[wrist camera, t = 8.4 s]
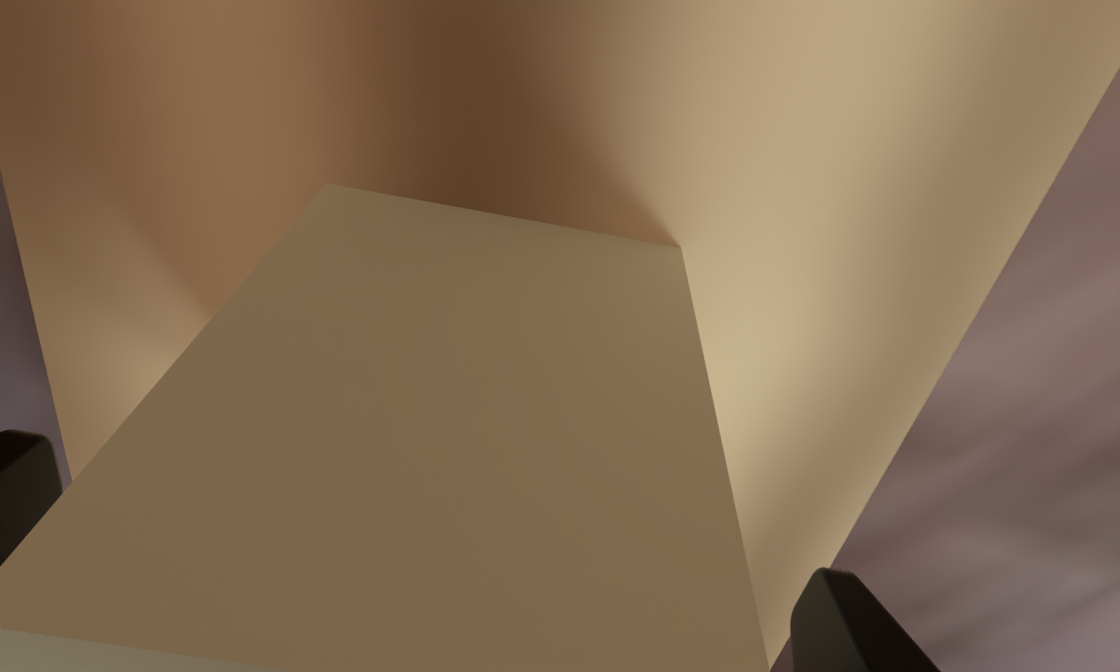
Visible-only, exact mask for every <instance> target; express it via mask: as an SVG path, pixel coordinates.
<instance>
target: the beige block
mask: <svg viewBox="0 0 1120 672" xmlns="http://www.w3.org/2000/svg"><path fill="white" fill-rule="evenodd" d="M0 672H770V670H769V665H768V660H767V655H766V651H765V646H764V641H763V636H762V631H761V627H760V622H759V617H758V612H757V608H756V603H755V598H754V593H753V588H752V584H751V579H750V574H749V569H748V565H747V560H746V555H745V550H744V545H743V541H742V536H741V531H740V526H739V522H738V517H737V512H736V507H735V503H734V498H733V493H732V488H731V483H730V479H729V474H728V469H727V464H726V460H725V455H724V450H723V445H722V440H721V436H720V431H719V426H718V421H717V417H716V412H715V407H714V402H713V397H712V393H711V388H710V383H709V378H708V374H707V369H706V364H705V359H704V354H703V350H702V345H701V340H700V335H699V331H698V326H697V321H696V316H695V311H694V307H693V302H692V297H691V292H690V288H689V283H688V278H687V273H686V268H685V264H684V259H683V254H682V249H681V247H675V246H670V245H664V244H659V243H653V242H647V241H642V240H636V239H631V238H625V237H620V236H614V235H609V234H603V233H598V232H592V231H587V230H581V229H576V228H570V227H565V226H559V225H554V224H548V223H543V222H537V221H532V220H526V219H521V218H515V217H510V216H504V215H499V214H493V213H488V212H482V211H477V210H471V209H466V208H460V207H455V206H449V205H444V204H438V203H433V202H427V201H422V200H416V199H411V198H405V197H400V196H394V195H389V194H383V193H378V192H372V191H367V190H361V189H356V188H350V187H345V186H339V185H334V184H328V183H327V184H326V185H325V186H324V187H323V188H322V189H321V191H320V192H319V193H318V194H317V195H316V196H315V198H314V199H313V200H312V201H311V202H310V204H309V205H308V206H307V207H306V208H305V209H304V211H303V212H302V213H301V214H300V215H299V216H298V218H297V219H296V220H295V221H294V222H293V223H292V225H291V226H290V227H289V228H288V229H287V231H286V232H285V233H284V234H283V235H282V236H281V238H280V239H279V240H278V241H277V242H276V243H275V245H274V246H273V247H272V248H271V249H270V250H269V252H268V253H267V254H266V255H265V256H264V258H263V259H262V260H261V261H260V262H259V263H258V265H257V266H256V267H255V268H254V269H253V270H252V272H251V273H250V274H249V275H248V276H247V278H246V279H245V280H244V281H243V282H242V283H241V285H240V286H239V287H238V288H237V289H236V290H235V292H234V293H233V294H232V295H231V296H230V297H229V299H228V300H227V301H226V302H225V303H224V305H223V306H222V307H221V308H220V309H219V310H218V312H217V313H216V314H215V315H214V316H213V317H212V319H211V320H210V321H209V322H208V323H207V325H206V326H205V327H204V328H203V329H202V330H201V332H200V333H199V334H198V335H197V336H196V337H195V339H194V340H193V341H192V342H191V343H190V344H189V346H188V347H187V348H186V349H185V350H184V352H183V353H182V354H181V355H180V356H179V357H178V359H177V360H176V361H175V362H174V363H173V364H172V366H171V367H170V368H169V369H168V370H167V372H166V373H165V374H164V375H163V376H162V377H161V379H160V380H159V381H158V382H157V383H156V384H155V386H154V387H153V388H152V389H151V390H150V391H149V393H148V394H147V395H146V396H145V397H144V399H143V400H142V401H141V402H140V403H139V404H138V406H137V407H136V408H135V409H134V410H133V411H132V413H131V414H130V415H129V416H128V417H127V419H126V420H125V421H124V422H123V423H122V424H121V426H120V427H119V428H118V429H117V430H116V431H115V433H114V434H113V435H112V436H111V437H110V438H109V440H108V441H107V442H106V443H105V444H104V446H103V447H102V448H101V449H100V450H99V451H98V453H97V454H96V455H95V456H94V457H93V458H92V460H91V461H90V462H89V463H88V464H87V465H86V467H85V468H84V469H83V470H82V471H81V473H80V474H79V475H78V476H77V477H76V478H75V480H74V481H73V482H72V483H71V484H70V485H69V487H68V488H67V489H66V490H65V491H64V493H63V494H62V495H61V496H60V497H59V498H58V500H57V501H56V502H55V503H54V504H53V505H52V507H51V508H50V509H49V510H48V511H47V512H46V514H45V515H44V516H43V517H42V518H41V520H40V521H39V522H38V523H37V524H36V525H35V527H34V528H33V529H32V530H31V531H30V532H29V534H28V535H27V536H26V537H25V538H24V540H23V541H22V542H21V543H20V544H19V545H18V547H17V548H16V549H15V550H14V551H13V552H12V554H11V555H10V556H9V557H8V558H7V559H6V561H5V562H4V563H3V564H2V565H1V567H0Z"/></svg>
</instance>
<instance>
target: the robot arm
mask: <svg viewBox="0 0 1120 672" xmlns="http://www.w3.org/2000/svg"><path fill="white" fill-rule="evenodd" d="M62 491H63V486H62V481H61V477H60V472H59V468H58V464H57V460H56V456H55V452H54V447H53V444H52V441H51V440H50V439H49V438H48V437H47V436H45V435H43V434H38V433H32V432H26V431H20V430H5V431H2V432H0V567H1V565H2V564H3V563H4V562H5V561H6V559H7V558H8V557H9V556H10V555H11V554H12V552H13V551H14V550H15V549H16V548H17V547H18V545H19V544H20V543H21V542H22V541H23V540H24V538H25V537H26V536H27V535H28V534H29V532H30V531H31V530H32V529H33V528H34V527H35V525H36V524H37V523H38V522H39V521H40V520H41V518H42V517H43V516H44V515H45V514H46V512H47V511H48V510H49V509H50V508H51V507H52V505H53V504H54V503H55V502H56V501H57V500H58V498H59V497H60V496H61V495H62ZM790 633H791V646H792V658H793V671H794V672H941V671H940V670H939V669H938V668H937V667H936V666H935V665H934V663H933V662H932V661H931V660H930V659H929V658H928V657H927V655H926V654H925V653H924V652H923V651H922V650H921V649H920V647H919V646H918V645H917V644H916V643H915V642H914V641H913V640H912V638H911V637H910V636H909V635H908V634H907V633H906V632H905V630H904V629H903V628H902V627H901V626H900V625H899V624H898V622H897V621H896V620H895V619H894V618H893V617H892V616H891V615H890V613H889V612H888V611H887V610H886V609H885V608H884V607H883V605H882V604H881V603H880V602H879V601H878V600H877V599H876V597H875V596H874V595H873V594H872V593H871V592H870V591H869V590H868V588H867V587H866V586H865V585H864V584H863V583H862V582H861V580H860V579H859V578H858V577H857V576H856V575H854V574H853V573H851V572H849V571H844V570H838V569H832V568H826V567H820V568H818V569H817V570H815V571H814V573H813V574H812V575H811V577H810V579H809V581H808V583H807V584H806V586H805V588H804V590H803V591H802V593H801V595H800V597H799V599H798V600H797V602H796V604H795V606H794V608H793V610H792V614H791V619H790Z"/></svg>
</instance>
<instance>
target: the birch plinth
mask: <svg viewBox="0 0 1120 672" xmlns="http://www.w3.org/2000/svg"><path fill="white" fill-rule="evenodd" d="M1119 67H1120V0H0V170H1V175H2V179H3V184H4V188H5V192H6V197H7V201H8V205H9V210H10V214H11V218H12V223H13V227H14V231H15V236H16V240H17V244H18V249H19V253H20V257H21V262H22V266H23V270H24V275H25V279H26V283H27V288H28V292H29V296H30V301H31V305H32V309H33V314H34V318H35V322H36V327H37V331H38V335H39V340H40V344H41V348H42V353H43V357H44V361H45V366H46V370H47V374H48V379H49V383H50V387H51V392H52V396H53V400H54V405H55V409H56V414H57V418H58V422H59V427H60V431H61V435H62V440H63V444H64V448H65V453H66V457H67V461H68V466H69V470H70V474H71V479H72V482H73V481H74V480H75V478H76V477H77V476H78V475H79V474H80V473H81V471H82V470H83V469H84V468H85V467H86V465H87V464H88V463H89V462H90V461H91V460H92V458H93V457H94V456H95V455H96V454H97V453H98V451H99V450H100V449H101V448H102V447H103V446H104V444H105V443H106V442H107V441H108V440H109V438H110V437H111V436H112V435H113V434H114V433H115V431H116V430H117V429H118V428H119V427H120V426H121V424H122V423H123V422H124V421H125V420H126V419H127V417H128V416H129V415H130V414H131V413H132V411H133V410H134V409H135V408H136V407H137V406H138V404H139V403H140V402H141V401H142V400H143V399H144V397H145V396H146V395H147V394H148V393H149V391H150V390H151V389H152V388H153V387H154V386H155V384H156V383H157V382H158V381H159V380H160V379H161V377H162V376H163V375H164V374H165V373H166V372H167V370H168V369H169V368H170V367H171V366H172V364H173V363H174V362H175V361H176V360H177V359H178V357H179V356H180V355H181V354H182V353H183V352H184V350H185V349H186V348H187V347H188V346H189V344H190V343H191V342H192V341H193V340H194V339H195V337H196V336H197V335H198V334H199V333H200V332H201V330H202V329H203V328H204V327H205V326H206V325H207V323H208V322H209V321H210V320H211V319H212V317H213V316H214V315H215V314H216V313H217V312H218V310H219V309H220V308H221V307H222V306H223V305H224V303H225V302H226V301H227V300H228V299H229V297H230V296H231V295H232V294H233V293H234V292H235V290H236V289H237V288H238V287H239V286H240V285H241V283H242V282H243V281H244V280H245V279H246V278H247V276H248V275H249V274H250V273H251V272H252V270H253V269H254V268H255V267H256V266H257V265H258V263H259V262H260V261H261V260H262V259H263V258H264V256H265V255H266V254H267V253H268V252H269V250H270V249H271V248H272V247H273V246H274V245H275V243H276V242H277V241H278V240H279V239H280V238H281V236H282V235H283V234H284V233H285V232H286V231H287V229H288V228H289V227H290V226H291V225H292V223H293V222H294V221H295V220H296V219H297V218H298V216H299V215H300V214H301V213H302V212H303V211H304V209H305V208H306V207H307V206H308V205H309V204H310V202H311V201H312V200H313V199H314V198H315V196H316V195H317V194H318V193H319V192H320V191H321V189H322V188H323V187H324V186H325V185H326V184H327V183H328V184H334V185H339V186H345V187H350V188H356V189H361V190H367V191H372V192H378V193H383V194H389V195H394V196H400V197H405V198H411V199H416V200H422V201H427V202H433V203H438V204H444V205H449V206H455V207H460V208H466V209H471V210H477V211H482V212H488V213H493V214H499V215H504V216H510V217H515V218H521V219H526V220H532V221H537V222H543V223H548V224H554V225H559V226H565V227H570V228H576V229H581V230H587V231H592V232H598V233H603V234H609V235H614V236H620V237H625V238H631V239H636V240H642V241H647V242H653V243H659V244H664V245H670V246H675V247H681V249H682V254H683V259H684V264H685V268H686V273H687V278H688V283H689V288H690V292H691V297H692V302H693V307H694V311H695V316H696V321H697V326H698V331H699V335H700V340H701V345H702V350H703V354H704V359H705V364H706V369H707V374H708V378H709V383H710V388H711V393H712V397H713V402H714V407H715V412H716V417H717V421H718V426H719V431H720V436H721V440H722V445H723V450H724V455H725V460H726V464H727V469H728V474H729V479H730V483H731V488H732V493H733V498H734V503H735V507H736V512H737V517H738V522H739V526H740V531H741V536H742V541H743V545H744V550H745V555H746V560H747V565H748V569H749V574H750V579H751V584H752V588H753V593H754V598H755V603H756V608H757V612H758V617H759V622H760V627H761V631H762V636H763V641H764V646H765V651H766V655H767V660H768V665H769V670H770V669H771V667H772V666H773V664H774V662H775V661H776V659H777V657H778V655H779V654H780V652H781V650H782V649H783V647H784V645H785V643H786V642H787V640H788V638H789V636H790V635H791V633H790V619H791V614H792V610H793V608H794V606H795V604H796V602H797V600H798V599H799V597H800V595H801V593H802V591H803V590H804V588H805V586H806V584H807V583H808V581H809V579H810V577H811V575H812V574H813V573H814V571H815V570H817V569H818V568H820V567H826V568H829V567H830V566H831V564H832V562H833V561H834V559H835V557H836V555H837V554H838V552H839V550H840V548H841V547H842V545H843V543H844V542H845V540H846V538H847V536H848V535H849V533H850V531H851V530H852V528H853V526H854V524H855V523H856V521H857V519H858V517H859V516H860V514H861V512H862V511H863V509H864V507H865V505H866V504H867V502H868V500H869V498H870V497H871V495H872V493H873V492H874V490H875V488H876V486H877V485H878V483H879V481H880V479H881V478H882V476H883V474H884V473H885V471H886V469H887V467H888V466H889V464H890V462H891V461H892V459H893V457H894V455H895V454H896V452H897V450H898V448H899V447H900V445H901V443H902V442H903V440H904V438H905V436H906V435H907V433H908V431H909V429H910V428H911V426H912V424H913V423H914V421H915V419H916V417H917V416H918V414H919V412H920V410H921V409H922V407H923V405H924V404H925V402H926V400H927V398H928V397H929V395H930V393H931V392H932V390H933V388H934V386H935V385H936V383H937V381H938V379H939V378H940V376H941V374H942V373H943V371H944V369H945V367H946V366H947V364H948V362H949V360H950V359H951V357H952V355H953V354H954V352H955V350H956V348H957V347H958V345H959V343H960V341H961V340H962V338H963V336H964V335H965V333H966V331H967V329H968V328H969V326H970V324H971V323H972V321H973V319H974V317H975V316H976V314H977V312H978V310H979V309H980V307H981V305H982V304H983V302H984V300H985V298H986V297H987V295H988V293H989V291H990V290H991V288H992V286H993V285H994V283H995V281H996V279H997V278H998V276H999V274H1000V272H1001V271H1002V269H1003V267H1004V266H1005V264H1006V262H1007V260H1008V259H1009V257H1010V255H1011V254H1012V252H1013V250H1014V248H1015V247H1016V245H1017V243H1018V241H1019V240H1020V238H1021V236H1022V235H1023V233H1024V231H1025V229H1026V228H1027V226H1028V224H1029V222H1030V221H1031V219H1032V217H1033V216H1034V214H1035V212H1036V210H1037V209H1038V207H1039V205H1040V203H1041V202H1042V200H1043V198H1044V197H1045V195H1046V193H1047V191H1048V190H1049V188H1050V186H1051V185H1052V183H1053V181H1054V179H1055V178H1056V176H1057V174H1058V172H1059V171H1060V169H1061V167H1062V166H1063V164H1064V162H1065V160H1066V159H1067V157H1068V155H1069V153H1070V152H1071V150H1072V148H1073V147H1074V145H1075V143H1076V141H1077V140H1078V138H1079V136H1080V134H1081V133H1082V131H1083V129H1084V128H1085V126H1086V124H1087V122H1088V121H1089V119H1090V117H1091V116H1092V114H1093V112H1094V110H1095V109H1096V107H1097V105H1098V103H1099V102H1100V100H1101V98H1102V97H1103V95H1104V93H1105V91H1106V90H1107V88H1108V86H1109V84H1110V83H1111V81H1112V79H1113V78H1114V76H1115V74H1116V72H1117V71H1118V69H1119Z"/></svg>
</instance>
